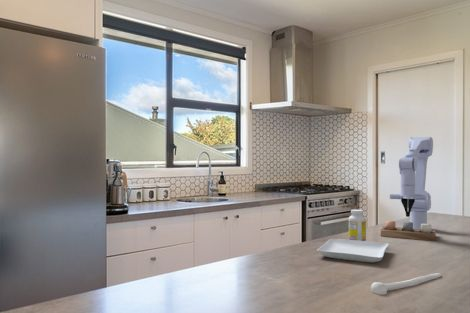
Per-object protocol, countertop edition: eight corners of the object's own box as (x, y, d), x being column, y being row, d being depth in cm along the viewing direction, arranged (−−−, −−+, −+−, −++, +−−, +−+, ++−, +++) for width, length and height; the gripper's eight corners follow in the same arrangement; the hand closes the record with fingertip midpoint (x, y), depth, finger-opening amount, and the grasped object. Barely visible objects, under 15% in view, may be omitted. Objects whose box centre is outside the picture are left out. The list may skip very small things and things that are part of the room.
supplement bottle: (363, 240, 155) (363, 209, 155) (367, 244, 149) (367, 211, 149) (347, 240, 156) (347, 208, 156) (350, 243, 149) (350, 211, 149)
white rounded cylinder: (420, 231, 163) (420, 223, 163) (431, 232, 162) (431, 224, 162) (420, 233, 160) (420, 224, 160) (431, 234, 158) (431, 225, 158)
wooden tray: (383, 231, 173) (383, 226, 173) (434, 235, 164) (434, 230, 164) (380, 236, 163) (380, 230, 163) (435, 241, 154) (435, 234, 154)
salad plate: (315, 259, 128) (315, 249, 128) (330, 246, 147) (330, 237, 147) (382, 267, 118) (382, 257, 118) (389, 252, 137) (389, 243, 137)
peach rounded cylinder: (386, 228, 170) (386, 220, 170) (395, 228, 168) (395, 221, 168) (385, 229, 166) (385, 221, 166) (395, 230, 164) (395, 222, 164)
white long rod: (430, 274, 112) (430, 264, 112) (444, 278, 108) (444, 268, 109) (367, 292, 97) (367, 281, 97) (380, 297, 94) (380, 285, 94)
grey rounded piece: (403, 229, 166) (403, 221, 166) (413, 230, 165) (413, 222, 165) (402, 230, 163) (402, 222, 163) (412, 231, 161) (412, 223, 161)
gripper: (389, 185, 163) (389, 216, 163) (426, 186, 157) (426, 219, 157) (390, 184, 170) (390, 214, 170) (426, 185, 163) (426, 216, 163)
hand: (407, 216), depth 164 cm, fingers closed
